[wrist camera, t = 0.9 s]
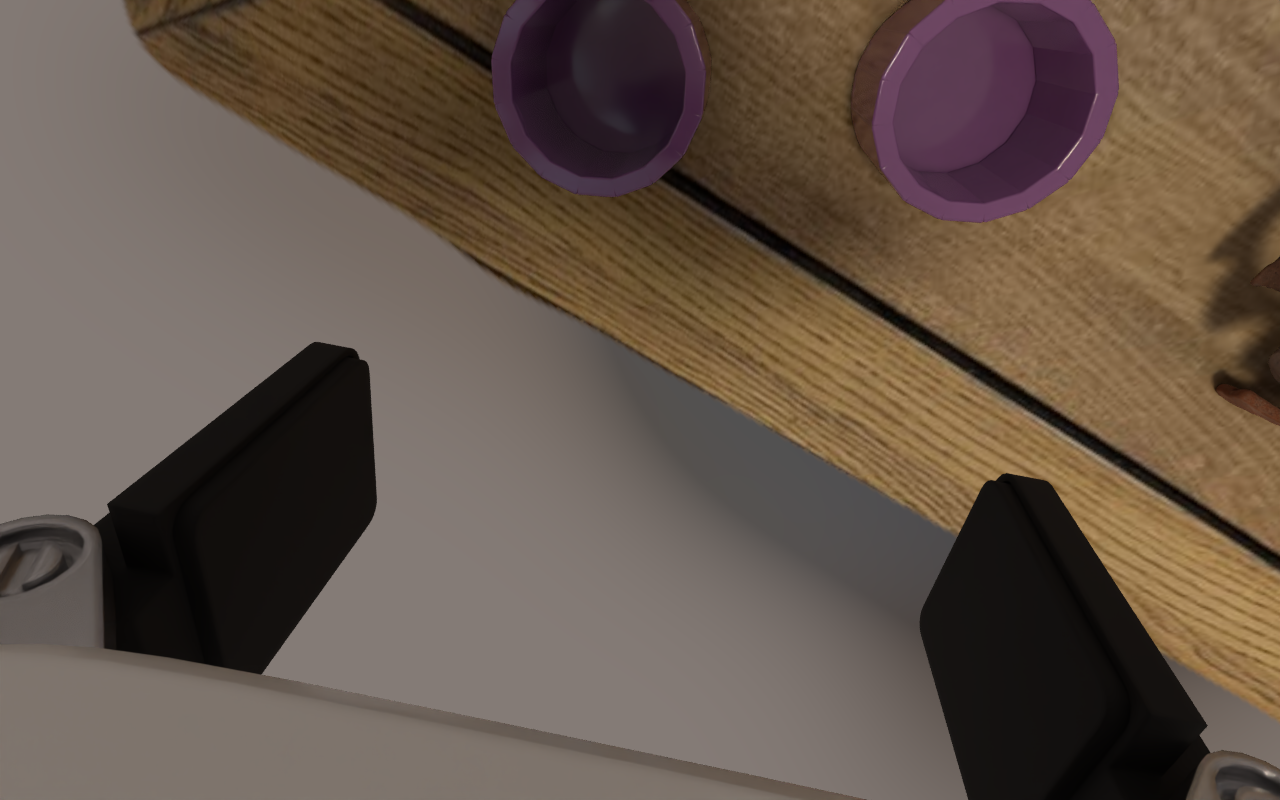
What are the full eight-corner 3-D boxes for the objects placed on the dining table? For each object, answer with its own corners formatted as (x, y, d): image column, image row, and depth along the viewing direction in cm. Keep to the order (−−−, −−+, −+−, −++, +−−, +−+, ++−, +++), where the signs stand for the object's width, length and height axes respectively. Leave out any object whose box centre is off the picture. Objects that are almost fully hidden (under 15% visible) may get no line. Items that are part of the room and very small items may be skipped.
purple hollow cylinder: (813, 83, 24) (829, 100, 20) (984, -67, 22) (1044, -85, 17) (916, 221, 26) (950, 264, 22) (1084, 98, 24) (1162, 119, 19)
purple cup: (498, 66, 25) (449, 79, 21) (625, -80, 23) (598, -100, 18) (618, 200, 27) (595, 237, 23) (748, 80, 25) (750, 95, 20)
